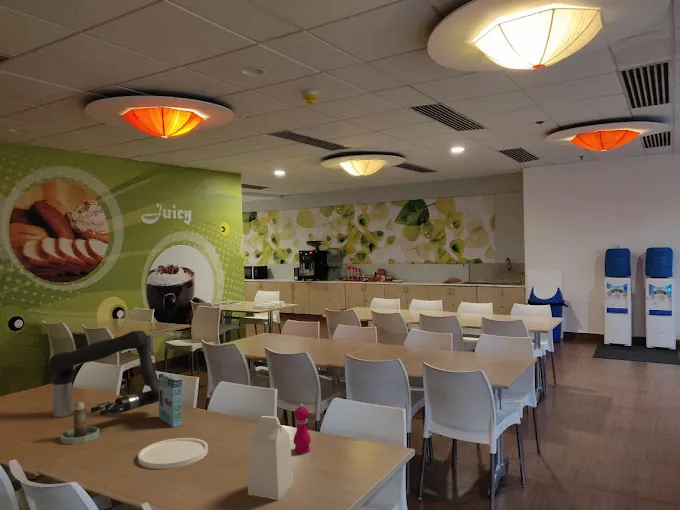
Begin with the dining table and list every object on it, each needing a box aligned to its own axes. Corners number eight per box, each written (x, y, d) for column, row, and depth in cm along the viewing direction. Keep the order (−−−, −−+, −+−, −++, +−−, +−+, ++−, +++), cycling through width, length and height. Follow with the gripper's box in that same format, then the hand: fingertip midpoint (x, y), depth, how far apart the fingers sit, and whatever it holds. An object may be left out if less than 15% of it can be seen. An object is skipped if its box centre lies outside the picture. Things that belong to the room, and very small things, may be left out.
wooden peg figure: (72, 436, 237) (71, 402, 237) (83, 433, 242) (82, 399, 241) (77, 438, 234) (76, 404, 234) (88, 435, 238) (87, 401, 238)
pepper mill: (313, 448, 217) (312, 401, 217) (307, 455, 211) (305, 406, 210) (298, 446, 220) (296, 400, 220) (291, 453, 213) (289, 405, 213)
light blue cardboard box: (158, 418, 263) (157, 374, 263) (168, 416, 266) (167, 372, 266) (173, 427, 248) (172, 380, 248) (183, 425, 251) (182, 379, 251)
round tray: (54, 439, 236) (54, 434, 236) (88, 429, 249) (88, 424, 249) (71, 446, 227) (71, 441, 227) (105, 435, 239) (105, 430, 239)
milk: (247, 495, 177) (245, 420, 177) (264, 480, 188) (262, 410, 188) (278, 500, 173) (276, 423, 173) (293, 485, 184) (291, 413, 183)
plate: (137, 450, 222) (136, 444, 222) (202, 439, 233) (202, 433, 233) (139, 475, 196) (139, 469, 196) (213, 461, 207) (213, 455, 207)
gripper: (119, 393, 261) (87, 401, 248) (134, 397, 252) (102, 406, 239) (119, 408, 261) (88, 417, 248) (135, 413, 252) (103, 422, 239)
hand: (95, 411), depth 244 cm, fingers open, 8 cm apart
